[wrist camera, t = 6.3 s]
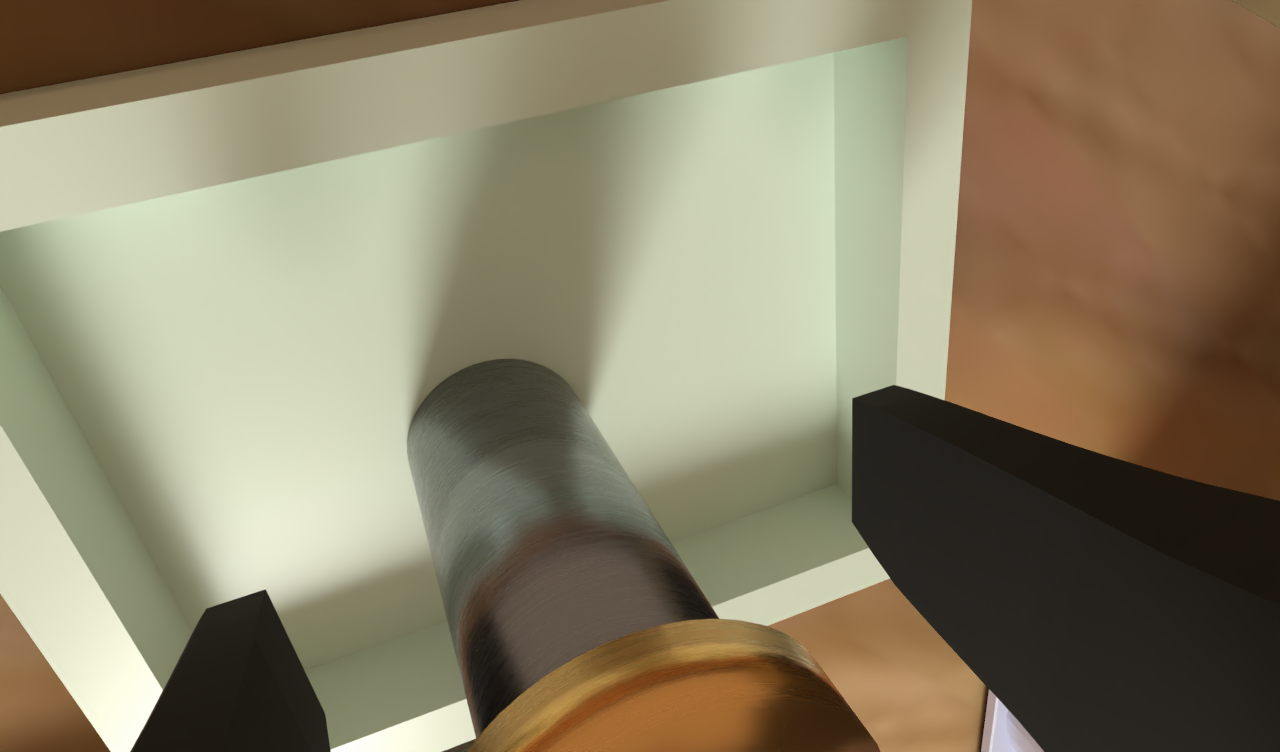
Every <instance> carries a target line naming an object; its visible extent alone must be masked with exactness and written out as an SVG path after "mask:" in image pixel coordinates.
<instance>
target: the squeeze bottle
mask: <svg viewBox="0 0 1280 752" xmlns="http://www.w3.org/2000/svg"><path fill="white" fill-rule="evenodd" d="M1232 1H1233V2H1235V3H1237V4H1239V5H1240V6H1242V7H1244V8H1246V9H1247V10H1249V11H1251V12H1253V13H1254V14H1256V15H1258V16H1260V17H1261V18H1263V19H1265V20H1267V21H1268V22H1270V23H1272V24H1274V25H1275V26H1277V27H1279V28H1280V0H1232Z"/></svg>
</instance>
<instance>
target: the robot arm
mask: <svg viewBox="0 0 1280 752" xmlns="http://www.w3.org/2000/svg"><path fill="white" fill-rule="evenodd" d="M852 523H853V525H854V526H855V528H856V529H857V531H858V532H859V534H860V535H861V537H862V538H863V540H864V541H865V543H866V544H867V546H868V547H869V549H870V550H871V552H872V553H873V555H874V556H875V558H876V559H877V560H878V562H879V563H880V565H881V566H882V567H883V569H884V570H885V572H886V573H887V574H888V576H889V577H890V579H891V580H892V581H893V583H894V584H895V585H896V586H897V588H898V589H899V590H900V591H901V592H902V593H903V595H904V596H905V597H906V598H907V599H908V600H909V601H910V602H911V604H912V605H913V606H914V607H915V608H916V609H917V610H918V611H919V612H920V614H921V615H922V616H923V617H924V618H925V619H926V620H927V621H928V622H929V624H930V625H931V626H932V627H933V628H934V629H935V630H936V631H937V633H938V634H939V635H940V636H941V637H942V638H943V639H944V640H945V641H946V642H947V643H948V645H949V646H950V647H951V648H952V649H953V650H954V651H955V652H956V653H957V654H958V655H959V657H960V658H961V659H962V660H963V661H964V662H965V663H966V664H967V665H968V666H969V667H970V669H971V670H972V671H973V672H974V673H975V674H976V675H977V676H978V677H979V678H980V680H981V681H982V682H983V683H984V684H985V685H986V686H987V687H988V688H989V693H988V701H987V709H986V716H985V724H984V732H983V740H982V748H981V752H1280V501H1277V500H1273V499H1268V498H1264V497H1260V496H1255V495H1251V494H1247V493H1242V492H1238V491H1234V490H1230V489H1225V488H1221V487H1217V486H1212V485H1208V484H1204V483H1200V482H1196V481H1192V480H1189V479H1185V478H1181V477H1177V476H1173V475H1170V474H1166V473H1163V472H1159V471H1156V470H1153V469H1149V468H1146V467H1142V466H1139V465H1136V464H1132V463H1129V462H1126V461H1122V460H1119V459H1115V458H1112V457H1109V456H1105V455H1102V454H1099V453H1096V452H1093V451H1090V450H1087V449H1084V448H1080V447H1077V446H1074V445H1071V444H1068V443H1065V442H1062V441H1059V440H1056V439H1053V438H1050V437H1048V436H1045V435H1042V434H1039V433H1036V432H1033V431H1030V430H1027V429H1024V428H1021V427H1019V426H1016V425H1013V424H1010V423H1007V422H1004V421H1001V420H999V419H996V418H993V417H990V416H987V415H985V414H982V413H979V412H976V411H973V410H970V409H968V408H965V407H962V406H959V405H956V404H953V403H950V402H948V401H945V400H942V399H939V398H936V397H933V396H930V395H927V394H924V393H921V392H917V391H914V390H911V389H907V388H904V387H900V386H897V385H891V386H888V387H885V388H882V389H879V390H876V391H873V392H870V393H867V394H864V395H861V396H858V397H855V398H852ZM130 752H331V751H330V744H329V737H328V730H327V723H326V716H325V712H324V710H323V708H322V706H321V704H320V702H319V700H318V698H317V696H316V693H315V691H314V689H313V687H312V685H311V683H310V681H309V679H308V677H307V675H306V673H305V670H304V668H303V666H302V664H301V662H300V660H299V658H298V656H297V654H296V652H295V649H294V647H293V645H292V643H291V641H290V639H289V637H288V635H287V633H286V631H285V629H284V626H283V624H282V622H281V620H280V618H279V616H278V614H277V612H276V610H275V608H274V605H273V603H272V601H271V599H270V597H269V595H268V593H267V591H266V589H265V590H262V591H259V592H256V593H253V594H249V595H246V596H243V597H240V598H237V599H234V600H231V601H228V602H225V603H222V604H219V605H216V606H213V607H210V608H206V610H205V612H204V613H203V615H202V616H201V618H200V620H199V621H198V623H197V625H196V627H195V629H194V631H193V633H192V635H191V637H190V639H189V640H188V642H187V644H186V646H185V648H184V650H183V652H182V654H181V656H180V658H179V660H178V662H177V664H176V666H175V668H174V670H173V672H172V674H171V676H170V678H169V680H168V682H167V684H166V686H165V688H164V689H163V691H162V693H161V695H160V697H159V699H158V701H157V703H156V705H155V707H154V709H153V710H152V712H151V714H150V716H149V718H148V720H147V722H146V724H145V726H144V728H143V729H142V731H141V733H140V735H139V737H138V738H137V740H136V742H135V744H134V746H133V747H132V749H131V751H130Z"/></svg>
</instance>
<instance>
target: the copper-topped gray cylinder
mask: <svg viewBox="0 0 1280 752" xmlns="http://www.w3.org/2000/svg"><path fill="white" fill-rule="evenodd" d="M407 455H408V461H409V466H410V470H411V474H412V478H413V482H414V487H415V491H416V495H417V499H418V503H419V507H420V511H421V515H422V519H423V523H424V527H425V532H426V536H427V540H428V544H429V548H430V552H431V556H432V560H433V564H434V568H435V572H436V577H437V581H438V585H439V589H440V593H441V597H442V601H443V605H444V609H445V613H446V617H447V622H448V626H449V630H450V634H451V638H452V642H453V646H454V650H455V654H456V658H457V662H458V667H459V671H460V675H461V679H462V683H463V687H464V691H465V695H466V699H467V703H468V707H469V712H470V716H471V720H472V724H473V728H474V732H475V736H476V740H475V742H474V743H473V744H472V746H471V747H470V749H469V750H468V751H467V752H880V750H879V748H878V745H877V743H876V742H875V741H874V739H873V738H872V736H871V735H870V734H869V732H868V731H867V730H866V728H865V727H864V726H863V724H862V723H861V721H860V720H859V719H858V717H857V716H856V715H855V713H854V712H853V711H852V709H851V708H850V706H849V705H848V704H847V702H846V701H845V700H844V698H843V697H842V696H841V694H840V693H839V691H838V690H837V689H836V687H835V686H834V685H833V683H832V682H831V681H830V679H829V678H828V676H827V675H826V674H825V672H824V671H823V670H822V668H821V667H820V666H819V664H818V663H817V661H816V660H815V659H814V657H813V656H812V655H811V653H810V652H809V651H807V650H806V649H805V648H804V647H803V646H802V645H801V644H800V643H798V642H797V641H796V640H794V639H792V638H791V637H789V636H787V635H786V634H784V633H782V632H780V631H778V630H775V629H772V628H770V627H767V626H764V625H761V624H756V623H751V622H746V621H742V620H729V619H719V617H718V616H717V614H716V612H715V611H714V609H713V608H712V606H711V605H710V603H709V601H708V600H707V598H706V597H705V595H704V594H703V592H702V591H701V589H700V587H699V586H698V584H697V583H696V581H695V580H694V578H693V576H692V575H691V573H690V572H689V570H688V569H687V567H686V565H685V564H684V562H683V561H682V559H681V558H680V556H679V554H678V553H677V551H676V550H675V548H674V547H673V545H672V544H671V542H670V540H669V539H668V537H667V536H666V534H665V533H664V531H663V529H662V528H661V526H660V525H659V523H658V522H657V520H656V518H655V517H654V515H653V514H652V512H651V511H650V509H649V508H648V506H647V504H646V503H645V501H644V500H643V498H642V497H641V495H640V493H639V492H638V490H637V489H636V487H635V486H634V484H633V482H632V481H631V479H630V478H629V476H628V475H627V473H626V472H625V470H624V468H623V467H622V465H621V464H620V462H619V461H618V459H617V457H616V456H615V454H614V453H613V451H612V450H611V448H610V446H609V445H608V443H607V442H606V440H605V439H604V437H603V435H602V434H601V432H600V431H599V429H598V428H597V426H596V425H595V423H594V421H593V420H592V418H591V417H590V415H589V414H588V412H587V410H586V409H585V407H584V406H583V404H582V403H581V401H580V399H579V398H578V396H577V395H576V393H575V392H574V390H573V389H572V388H571V386H570V385H569V384H568V383H567V382H566V381H565V380H564V379H563V378H562V377H561V376H560V375H558V374H557V373H555V372H554V371H552V370H551V369H549V368H547V367H545V366H543V365H540V364H537V363H534V362H530V361H525V360H520V359H495V360H489V361H484V362H481V363H477V364H474V365H471V366H469V367H466V368H464V369H461V370H460V371H458V372H456V373H454V374H452V375H451V376H449V377H448V378H446V379H445V380H444V381H442V382H441V383H440V384H439V385H437V386H436V387H435V388H434V389H433V390H432V391H431V392H430V393H429V394H428V396H427V397H426V398H425V399H424V400H423V402H422V403H421V405H420V407H419V408H418V410H417V411H416V413H415V416H414V418H413V420H412V423H411V426H410V429H409V433H408V440H407Z"/></svg>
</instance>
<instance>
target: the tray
mask: <svg viewBox="0 0 1280 752" xmlns="http://www.w3.org/2000/svg"><path fill="white" fill-rule="evenodd" d="M971 10H972V0H519V1H513V2H508V3H502V4H497V5H491V6H486V7H480V8H475V9H469V10H464V11H458V12H452V13H447V14H441V15H436V16H430V17H425V18H419V19H414V20H408V21H403V22H397V23H392V24H386V25H381V26H375V27H370V28H364V29H359V30H353V31H347V32H342V33H336V34H331V35H325V36H320V37H314V38H309V39H303V40H298V41H292V42H287V43H281V44H276V45H270V46H265V47H259V48H254V49H248V50H242V51H237V52H231V53H226V54H220V55H215V56H209V57H204V58H198V59H193V60H187V61H182V62H176V63H171V64H165V65H160V66H154V67H148V68H143V69H137V70H132V71H126V72H121V73H115V74H110V75H104V76H99V77H93V78H88V79H82V80H77V81H71V82H66V83H60V84H55V85H49V86H43V87H38V88H32V89H27V90H21V91H16V92H10V93H5V94H0V594H1V595H2V597H3V598H4V599H5V601H6V602H7V604H8V605H9V607H10V608H11V609H12V611H13V612H14V614H15V615H16V617H17V618H18V619H19V621H20V622H21V624H22V625H23V627H24V628H25V630H26V631H27V632H28V634H29V635H30V637H31V638H32V640H33V641H34V642H35V644H36V645H37V647H38V648H39V650H40V651H41V652H42V654H43V655H44V657H45V658H46V660H47V661H48V662H49V664H50V665H51V667H52V668H53V670H54V671H55V673H56V674H57V675H58V677H59V678H60V680H61V681H62V683H63V684H64V685H65V687H66V688H67V690H68V691H69V693H70V694H71V695H72V697H73V698H74V700H75V701H76V703H77V704H78V705H79V707H80V708H81V710H82V711H83V713H84V714H85V716H86V717H87V718H88V720H89V721H90V723H91V724H92V726H93V727H94V728H95V730H96V731H97V733H98V734H99V736H100V737H101V738H102V740H103V741H104V743H105V744H106V746H107V747H108V748H109V750H110V751H111V752H130V751H131V749H132V747H133V746H134V744H135V742H136V740H137V738H138V737H139V735H140V733H141V731H142V729H143V728H144V726H145V724H146V722H147V720H148V718H149V716H150V714H151V712H152V710H153V709H154V707H155V705H156V703H157V701H158V699H159V697H160V695H161V693H162V691H163V689H164V688H165V686H166V684H167V682H168V680H169V678H170V676H171V674H172V672H173V670H174V668H175V666H176V664H177V662H178V660H179V658H180V656H181V654H182V652H183V650H184V648H185V646H186V644H187V642H188V640H189V639H190V637H191V635H192V633H193V631H194V629H195V627H196V625H197V623H198V621H199V620H200V618H201V616H202V615H203V613H204V612H205V610H206V608H210V607H213V606H216V605H219V604H222V603H225V602H228V601H231V600H234V599H237V598H240V597H243V596H246V595H249V594H253V593H256V592H259V591H262V590H265V589H266V591H267V593H268V595H269V597H270V599H271V601H272V603H273V605H274V608H275V610H276V612H277V614H278V616H279V618H280V620H281V622H282V624H283V626H284V629H285V631H286V633H287V635H288V637H289V639H290V641H291V643H292V645H293V647H294V649H295V652H296V654H297V656H298V658H299V660H300V662H301V664H302V666H303V668H304V670H305V673H306V675H307V677H308V679H309V681H310V683H311V685H312V687H313V689H314V691H315V693H316V696H317V698H318V700H319V702H320V704H321V706H322V708H323V710H324V712H325V716H326V723H327V730H328V737H329V744H330V751H331V752H442V751H445V750H448V749H450V748H453V747H455V746H458V745H460V744H463V743H466V742H468V741H471V740H473V739H476V736H475V732H474V728H473V724H472V720H471V716H470V712H469V707H468V703H467V699H466V695H465V691H464V687H463V683H462V679H461V675H460V671H459V667H458V662H457V658H456V654H455V650H454V646H453V642H452V638H451V634H450V630H449V626H448V622H447V617H446V613H445V609H444V605H443V601H442V597H441V593H440V589H439V585H438V581H437V577H436V572H435V568H434V564H433V560H432V556H431V552H430V548H429V544H428V540H427V536H426V532H425V527H424V523H423V519H422V515H421V511H420V507H419V503H418V499H417V495H416V491H415V487H414V482H413V478H412V474H411V470H410V466H409V461H408V455H407V440H408V433H409V429H410V426H411V423H412V420H413V418H414V416H415V413H416V411H417V410H418V408H419V407H420V405H421V403H422V402H423V400H424V399H425V398H426V397H427V396H428V394H429V393H430V392H431V391H432V390H433V389H434V388H435V387H436V386H437V385H439V384H440V383H441V382H442V381H444V380H445V379H446V378H448V377H449V376H451V375H452V374H454V373H456V372H458V371H460V370H461V369H464V368H466V367H469V366H471V365H474V364H477V363H481V362H484V361H489V360H495V359H520V360H525V361H530V362H534V363H537V364H540V365H543V366H545V367H547V368H549V369H551V370H552V371H554V372H555V373H557V374H558V375H560V376H561V377H562V378H563V379H564V380H565V381H566V382H567V383H568V384H569V385H570V386H571V388H572V389H573V390H574V392H575V393H576V395H577V396H578V398H579V399H580V401H581V403H582V404H583V406H584V407H585V409H586V410H587V412H588V414H589V415H590V417H591V418H592V420H593V421H594V423H595V425H596V426H597V428H598V429H599V431H600V432H601V434H602V435H603V437H604V439H605V440H606V442H607V443H608V445H609V446H610V448H611V450H612V451H613V453H614V454H615V456H616V457H617V459H618V461H619V462H620V464H621V465H622V467H623V468H624V470H625V472H626V473H627V475H628V476H629V478H630V479H631V481H632V482H633V484H634V486H635V487H636V489H637V490H638V492H639V493H640V495H641V497H642V498H643V500H644V501H645V503H646V504H647V506H648V508H649V509H650V511H651V512H652V514H653V515H654V517H655V518H656V520H657V522H658V523H659V525H660V526H661V528H662V529H663V531H664V533H665V534H666V536H667V537H668V539H669V540H670V542H671V544H672V545H673V547H674V548H675V550H676V551H677V553H678V554H679V556H680V558H681V559H682V561H683V562H684V564H685V565H686V567H687V569H688V570H689V572H690V573H691V575H692V576H693V578H694V580H695V581H696V583H697V584H698V586H699V587H700V589H701V591H702V592H703V594H704V595H705V597H706V598H707V600H708V601H709V603H710V605H711V606H712V608H713V609H714V611H715V612H716V614H717V616H718V617H719V619H729V620H742V621H746V622H751V623H756V624H761V625H764V626H768V625H771V624H773V623H776V622H778V621H781V620H783V619H786V618H789V617H791V616H794V615H796V614H799V613H802V612H804V611H807V610H809V609H812V608H814V607H817V606H820V605H822V604H825V603H827V602H830V601H833V600H835V599H838V598H840V597H843V596H845V595H848V594H851V593H853V592H856V591H858V590H861V589H864V588H866V587H869V586H871V585H874V584H877V583H879V582H882V581H884V580H887V579H889V578H890V577H889V576H888V574H887V573H886V572H885V570H884V569H883V567H882V566H881V565H880V563H879V562H878V560H877V559H876V558H875V556H874V555H873V553H872V552H871V550H870V549H869V547H868V546H867V544H866V543H865V541H864V540H863V538H862V537H861V535H860V534H859V532H858V531H857V529H856V528H855V526H854V525H853V523H852V398H855V397H858V396H861V395H864V394H867V393H870V392H873V391H876V390H879V389H882V388H885V387H888V386H891V385H897V386H900V387H904V388H907V389H911V390H914V391H917V392H921V393H924V394H927V395H930V396H933V397H936V398H939V399H942V400H945V385H946V371H947V357H948V342H949V328H950V313H951V299H952V284H953V270H954V256H955V241H956V227H957V212H958V198H959V183H960V169H961V155H962V140H963V126H964V111H965V97H966V82H967V68H968V54H969V39H970V25H971Z"/></svg>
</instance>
